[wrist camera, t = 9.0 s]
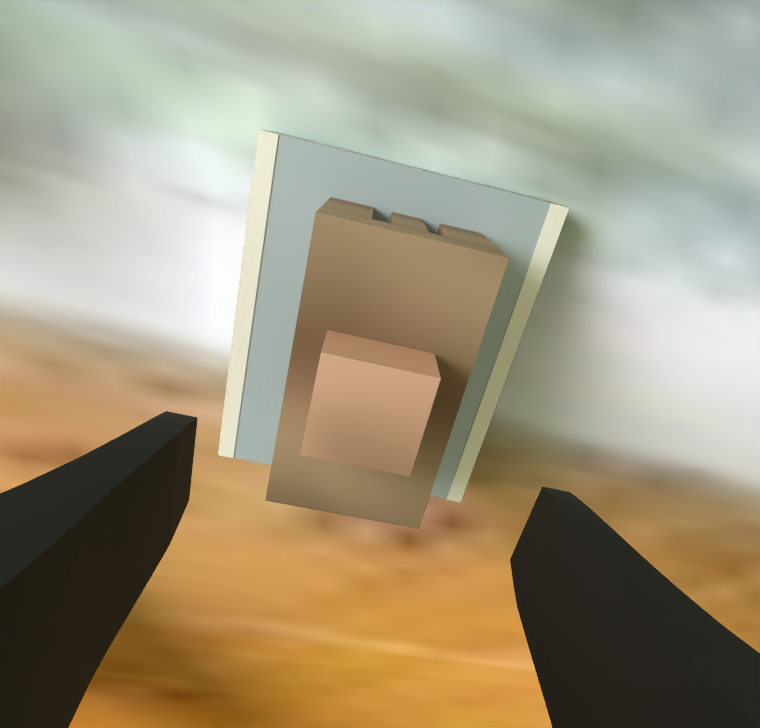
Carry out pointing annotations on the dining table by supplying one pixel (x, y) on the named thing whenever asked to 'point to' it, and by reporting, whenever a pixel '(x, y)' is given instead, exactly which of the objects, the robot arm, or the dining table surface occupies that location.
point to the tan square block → (370, 403)
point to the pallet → (389, 325)
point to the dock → (386, 194)
